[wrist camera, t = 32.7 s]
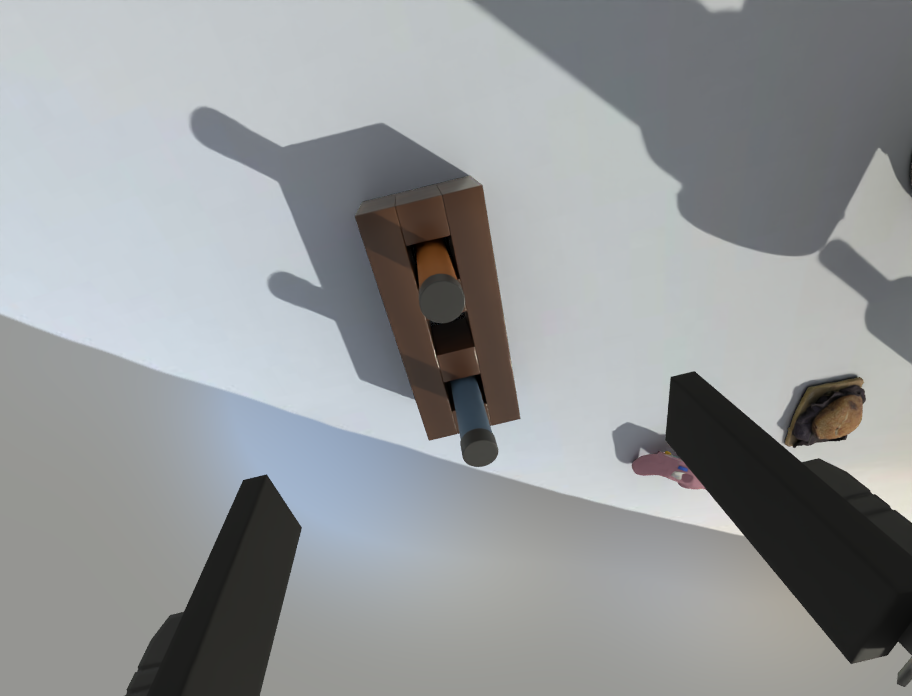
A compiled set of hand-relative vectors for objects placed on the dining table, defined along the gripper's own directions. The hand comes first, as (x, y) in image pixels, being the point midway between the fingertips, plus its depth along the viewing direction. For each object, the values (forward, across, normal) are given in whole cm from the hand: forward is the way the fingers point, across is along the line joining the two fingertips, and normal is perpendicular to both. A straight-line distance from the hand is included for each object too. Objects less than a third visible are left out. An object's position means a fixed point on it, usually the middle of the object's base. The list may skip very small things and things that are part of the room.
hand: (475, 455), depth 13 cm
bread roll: (+27, +46, -34) cm, 63 cm away
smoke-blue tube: (+27, 0, -13) cm, 30 cm away
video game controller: (+27, +25, -36) cm, 51 cm away
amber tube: (+27, 0, 0) cm, 27 cm away
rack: (+27, 0, -6) cm, 27 cm away
